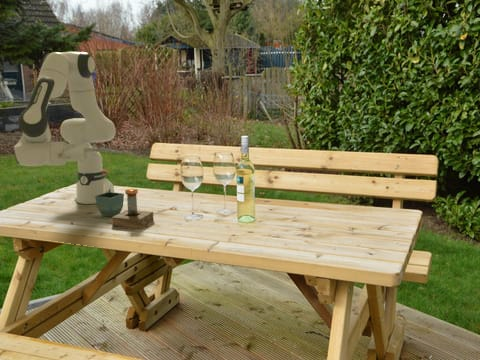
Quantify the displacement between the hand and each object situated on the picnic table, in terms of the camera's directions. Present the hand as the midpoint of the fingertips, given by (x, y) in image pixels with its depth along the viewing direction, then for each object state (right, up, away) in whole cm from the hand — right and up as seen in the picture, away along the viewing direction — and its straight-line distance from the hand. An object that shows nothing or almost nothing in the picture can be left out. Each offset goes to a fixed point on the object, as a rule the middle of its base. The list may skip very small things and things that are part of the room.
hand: (97, 152), depth 207 cm
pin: (+12, -28, +8) cm, 31 cm away
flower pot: (0, -26, +23) cm, 34 cm away
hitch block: (+12, -28, +9) cm, 32 cm away
